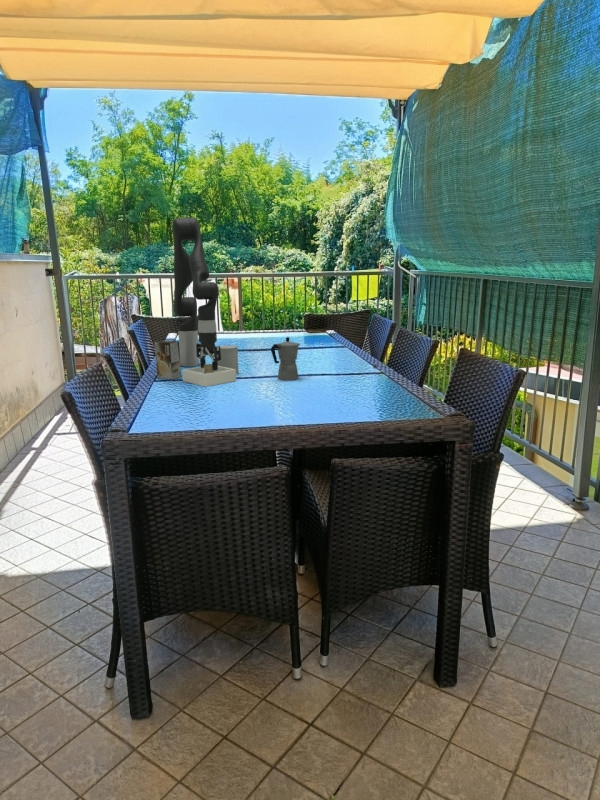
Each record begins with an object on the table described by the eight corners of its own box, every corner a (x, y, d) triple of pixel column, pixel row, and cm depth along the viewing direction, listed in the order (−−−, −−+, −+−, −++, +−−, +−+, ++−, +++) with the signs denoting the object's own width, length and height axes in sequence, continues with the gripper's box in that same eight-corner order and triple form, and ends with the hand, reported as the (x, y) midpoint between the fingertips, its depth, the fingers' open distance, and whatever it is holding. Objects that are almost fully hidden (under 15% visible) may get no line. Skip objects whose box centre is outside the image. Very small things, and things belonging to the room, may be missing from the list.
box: (183, 381, 235) (182, 369, 234) (213, 375, 246) (213, 364, 245) (205, 386, 224) (204, 374, 223) (236, 380, 235) (235, 369, 233)
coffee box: (182, 377, 243) (180, 341, 239) (172, 379, 238) (170, 342, 234) (166, 375, 247) (163, 339, 243) (156, 378, 242) (153, 341, 238)
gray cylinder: (231, 376, 245) (230, 348, 242) (213, 374, 249) (212, 347, 246) (242, 372, 253) (241, 346, 250) (225, 371, 257) (224, 344, 254)
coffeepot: (293, 375, 247) (292, 335, 243) (306, 378, 240) (306, 337, 236) (265, 379, 237) (264, 337, 233) (278, 383, 230) (277, 340, 226)
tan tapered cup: (202, 378, 234) (202, 365, 233) (210, 377, 237) (209, 363, 236) (208, 380, 232) (207, 365, 230) (216, 378, 234) (215, 364, 233)
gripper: (190, 330, 232) (192, 368, 236) (210, 333, 222) (211, 372, 226) (204, 328, 237) (206, 365, 241) (225, 331, 227) (226, 370, 231)
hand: (209, 369), depth 233 cm, fingers open, 8 cm apart
